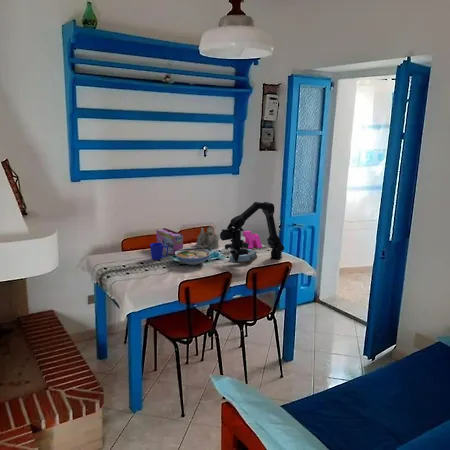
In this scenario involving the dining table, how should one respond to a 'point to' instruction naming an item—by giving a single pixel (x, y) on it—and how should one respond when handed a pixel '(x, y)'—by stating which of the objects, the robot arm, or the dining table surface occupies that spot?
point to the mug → (157, 251)
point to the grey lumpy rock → (207, 239)
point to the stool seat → (253, 256)
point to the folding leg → (241, 258)
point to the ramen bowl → (192, 255)
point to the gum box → (170, 240)
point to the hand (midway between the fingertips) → (236, 262)
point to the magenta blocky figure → (252, 240)
